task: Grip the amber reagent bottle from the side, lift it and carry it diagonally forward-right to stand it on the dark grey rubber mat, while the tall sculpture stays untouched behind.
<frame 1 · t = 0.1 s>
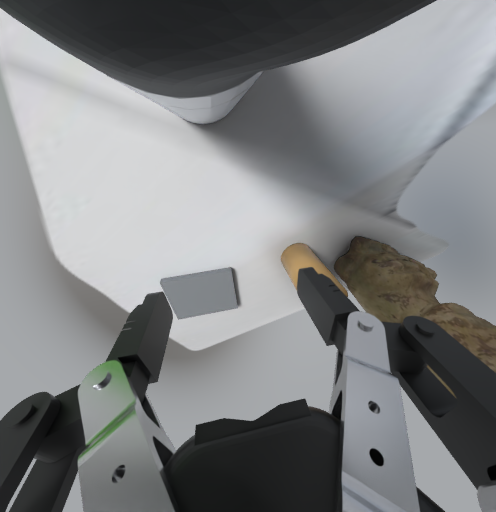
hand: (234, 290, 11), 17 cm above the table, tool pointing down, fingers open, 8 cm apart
sculpture: (360, 256, 36), on the table
bottle: (295, 256, 32), on the table
mat: (203, 292, 34), on the table
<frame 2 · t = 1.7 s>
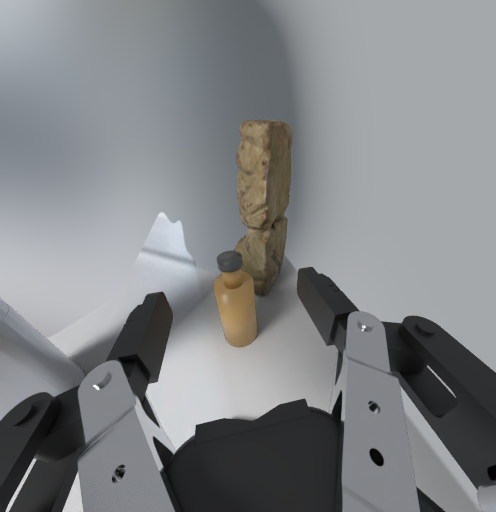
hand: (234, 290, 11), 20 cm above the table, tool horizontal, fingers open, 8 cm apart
sculpture: (261, 279, 42), on the table
bottle: (240, 331, 30), on the table
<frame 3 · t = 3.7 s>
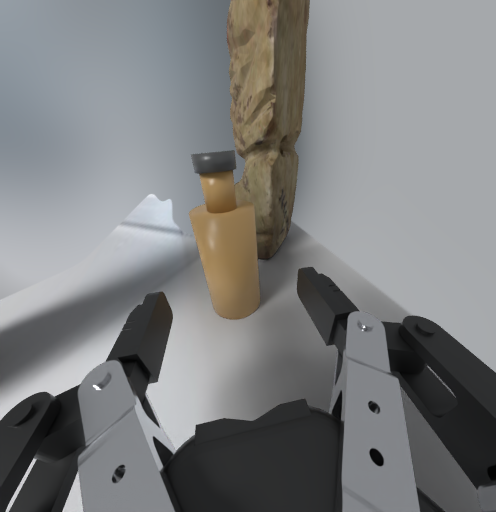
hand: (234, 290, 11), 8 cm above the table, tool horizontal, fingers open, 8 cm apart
sculpture: (264, 244, 33), on the table
bottle: (236, 299, 21), on the table
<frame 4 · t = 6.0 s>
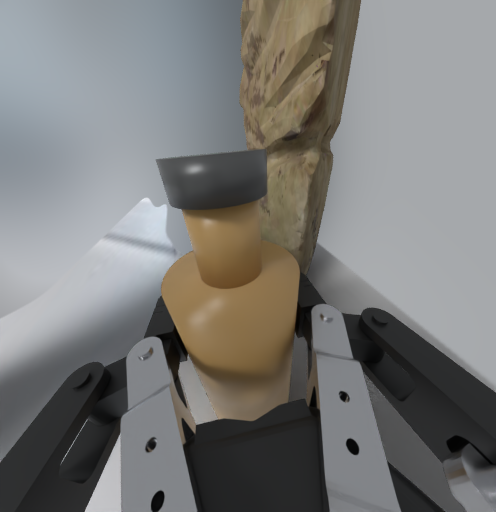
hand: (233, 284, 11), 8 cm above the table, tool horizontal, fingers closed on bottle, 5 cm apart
sculpture: (280, 274, 25), on the table
bottle: (250, 387, 13), on the table, touching gripper
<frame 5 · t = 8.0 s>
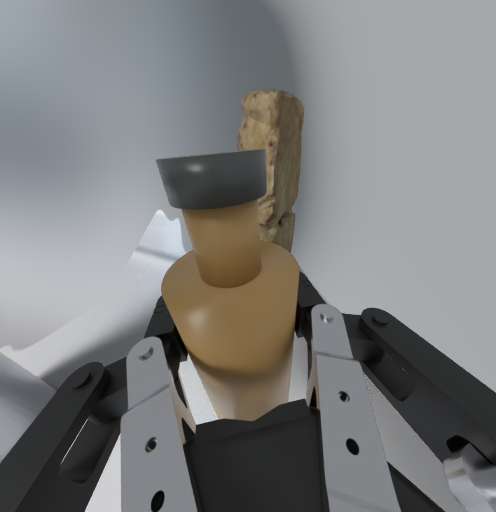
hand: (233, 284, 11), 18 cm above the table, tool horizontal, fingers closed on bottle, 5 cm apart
sculpture: (265, 282, 38), on the table
bottle: (250, 386, 13), point 10 cm above the table, touching gripper
when the fingers open (10 cm above the table, at t = 10.5 s): bottle drops 1 cm, resting on mat.
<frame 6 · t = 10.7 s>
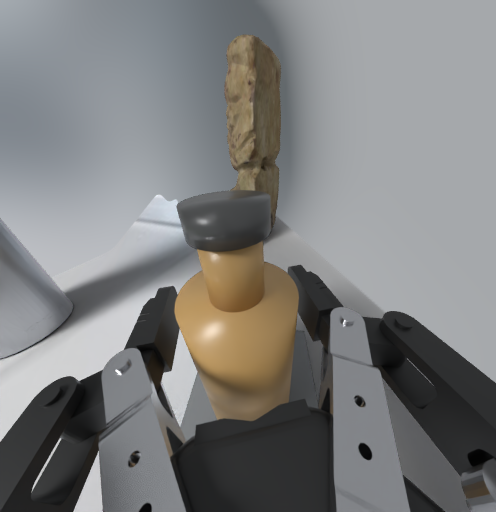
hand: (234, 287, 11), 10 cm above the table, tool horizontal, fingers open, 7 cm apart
sculpture: (254, 235, 42), on the table
bottle: (251, 397, 14), point 1 cm above the table, touching mat
mat: (252, 401, 14), on the table
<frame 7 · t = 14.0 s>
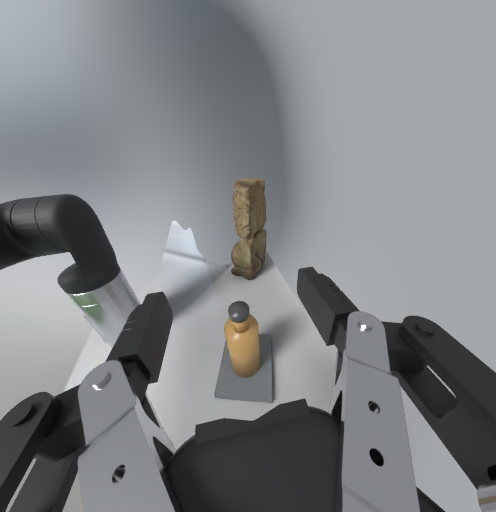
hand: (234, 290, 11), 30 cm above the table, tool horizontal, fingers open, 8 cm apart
sculpture: (250, 270, 63), on the table
bottle: (246, 362, 35), point 1 cm above the table, touching mat
mat: (246, 364, 36), on the table
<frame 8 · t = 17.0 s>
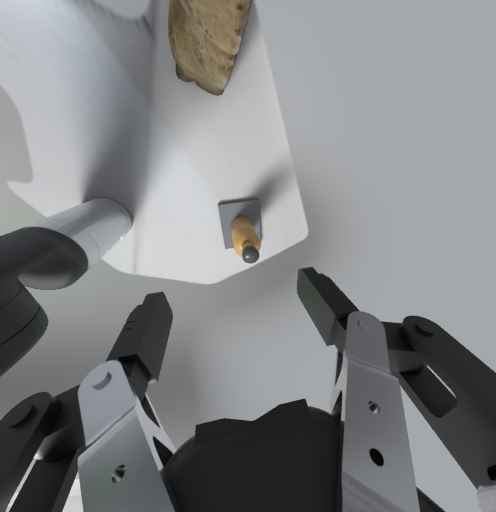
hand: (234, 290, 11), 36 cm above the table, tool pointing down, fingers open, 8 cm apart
sculpture: (209, 48, 30), on the table
bottle: (241, 226, 46), point 1 cm above the table, touching mat
mat: (240, 224, 47), on the table
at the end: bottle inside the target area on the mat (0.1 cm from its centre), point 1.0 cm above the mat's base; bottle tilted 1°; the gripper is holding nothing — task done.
